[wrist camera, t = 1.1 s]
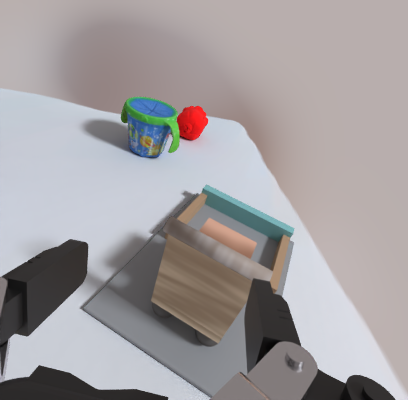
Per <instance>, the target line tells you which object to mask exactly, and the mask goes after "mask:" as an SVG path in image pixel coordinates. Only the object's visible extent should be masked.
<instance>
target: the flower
mask: <svg viewBox="0 0 408 400" xmlns="http://www.w3.org/2000/svg"><path fill="white" fill-rule="evenodd" d="M176 122H177V123H178V127H179V135H180V136H182V137H184V138H187V139H190V140H195V139H197V138H198V137H199V136H200V134H201V133H202V131H203V129H204V128H205V126H206V125H207V124H208V119H207V118H206V113H205V112H204V111H203V109H202V108H201V107H199V106H196V107H193V106H190V107H187V108H184V109H183V112H182V113H181V114H179V115H178V117H177V121H176Z"/></svg>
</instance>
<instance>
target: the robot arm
mask: <svg viewBox="0 0 408 400" xmlns="http://www.w3.org/2000/svg"><path fill="white" fill-rule="evenodd" d="M87 261H88V244H87V243H86V242H82V241H77V240H72V239H70V240H68V241H66V242H65V243H63V244H62V245H60V246H58V247H55V248H51V249H48V250H45V251H43V252H42V253H40V254H38V255H37V256H35V258H34V257H33V258H32V259H30V260H28V261H27V262H25V263H23V264H22V265H20V266H18V267H17V268H15V269H13V270H12V271H10V272H8V273H7V274H5V275H3V276H2V277H0V400H168V397H165V396H161V395H157V394H153V393H149V392H145V391H141V390H137V389H123V390H98V389H95V388H94V387H92V386H90V385H89V384H87V383H85V382H84V381H82V380H81V379H79V378H77V377H76V376H74V375H72V374H71V373H68V372H64V371H60V370H56V369H52V368H48V367H44V366H40V365H39V366H38V367H37V368H36V370H35V371H34V372H33V373H32V374H31V375H30V377H23V378H16V379H11V380H7V381H4V379H5V373H6V366H7V359H8V353H9V346H10V337H11V336H12V335H14V334H19V335H23V336H29V335H30V334H31V333H32V332H33V331H34V330H35V329H36V328H37V327H38V326H39V325H40V324H41V323H42V322H43V321H44V320H45V319H46V318H47V317H48V316H50V315H51V314H52V313H53V312H54V311H55V310H56V309H57V308H58V307H59V306H60V305H61V304H62V303H63V302H64V301H65V300H66V299H67V298H68V297H69V296H70V295H71V294H72V293H73V292H74V291H75V290H76V289H77V288H78V287H79V286H80V285H81V284H82V283H83V281H84V280H85V277H86V274H87ZM244 326H245V343H246V359H247V375H246V376H245V375H244V374H243V373H242V372H238V373H237V374H235V375H234V376H233V377H232V378H231V379H230V380H229V381H228V382H227V383H226V384H225V385H224V386H223V387H222V388H221V389H220V390H219V391H218V392H217V393H216V394H215V395H214V396H213V397H212V398H211V399H210V400H395V399H394V397H393V396H392V395H391V394H390V393H389V392H388V391H387V390H386V389H385V388H384V387H382V386H381V385H380V384H378V383H377V382H375V381H373V380H372V379H369V378H367V377H364V376H360V375H352V376H350V377H349V378H348V379H347V382H346V384H345V383H343V382H341V381H339V380H337V379H335V378H333V377H331V376H329V375H327V374H325V373H323V372H322V371H320V370H319V369H318V368H317V364H316V361H315V360H314V358H313V357H312V355H311V354H310V353H309V352H308V351H307V350H305V349H304V348H303V347H301V343H300V340H299V337H298V334H297V331H296V328H295V325H294V322H293V319H292V316H291V314H290V310H289V307H288V304H287V302H286V301H285V300H284V299H283V298H282V296H281V295H278V294H273V291H272V287H271V283H270V281H266V280H261V279H256V278H253V280H252V283H251V288H250V292H249V296H248V300H247V304H246V308H245V315H244Z"/></svg>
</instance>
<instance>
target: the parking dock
mask: <svg viewBox="0 0 408 400" xmlns="http://www.w3.org/2000/svg"><path fill="white" fill-rule="evenodd" d="M174 218H176V219H178V220H179V221H181V222H183V223H185V224H187V225H189V226H191V227H192V228H194V229H196V230H198V231H199V230H200V229H201V228H202V226H203V225H204V224H205V222H206V221H207V220H208V219H209V218H211V219H213V220H215V221H217V222H219V223H220V224H222V225H224V226H226V227H228V228H230V229H232V230H234V231H236V232H238V233H239V234H241V235H243V236H245V237H247V238H249V239H251V240H253V241H255V242H256V243H257V245H256V247H255V250H254V252H253V254H252V257H251V260H253V261H255V262H257V263H258V264H260V265H262V266H264V267H266V268H268V269H269V270H271V271H273V274H272V277H271V279H270V283H271V287H272V291H273V294H278V295H281V296H282V294H283V290H284V285H285V281H286V276H287V272H288V267H289V263H290V258H291V254H292V249H293V245H294V242H292V241H290V237H291V236H292V234H293V232H294V228H292V227H290V226H288V225H286V224H284V223H282V222H280V221H278V220H276V219H274V218H272V217H270V216H268V215H266V214H264V213H262V212H260V211H258V210H256V209H254V208H252V207H250V206H248V205H246V204H244V203H242V202H240V201H238V200H236V199H234V198H232V197H230V196H228V195H226V194H224V193H222V192H220V191H218V190H216V189H214V188H212V187H210V186H208V185H206V186H205V187H204V188H203V190H202V193H201V194H198V193H197V194H196V195H195V196H194V197H193V198H192V199H191V200H190V201H189V202H188V203H187V204H186V205H185V206H184V207H183V208H182V209H181V210H180V211H179V212H178V213H177V214H176V215H175V216H174ZM163 228H164V227H163ZM163 228H162V229H161V230H160V231H159V232H158V233H157V234H156V235H155V236H154V237H153V238H152V239H151V240H150V241H149V242H148V243H147V244H146V245H145V246H144V247H143V248H142V249H141V250H140V251H139V252H138V253H137V254H136V255H135V256H134V257H133V258H132V259H131V260H130V262H129V263H128V264H127V265H126V266H125V267H124V268H123V269H122V270H121V271H120V272H119V273H118V274H117V275H116V276H115V277H114V278H113V279H112V280H111V281H110V282H109V283H108V284H107V285H106V286H105V287H104V288H103V289H102V290H101V291H100V292H99V293H98V294H97V295H96V296H95V297H94V298H93V299H92V300H91V301H90V302H89V303H88V304H87V305H86V306H85V307H84V311H86V312H87V313H88V314H90V315H91V316H93V317H94V318H96V319H97V320H99V321H100V322H102V323H103V324H105V325H106V326H107V327H109V328H110V329H112V330H113V331H115V332H116V333H118V334H119V335H121V336H122V337H124V338H125V339H126V340H128V341H129V342H131V343H132V344H134V345H135V346H137V347H138V348H140V349H141V350H143V351H144V352H145V353H147V354H148V355H150V356H151V357H153V358H154V359H156V360H157V361H159V362H160V363H162V364H163V365H164V366H166V367H167V368H169V369H170V370H172V371H173V372H175V373H176V374H178V375H179V376H181V377H182V378H183V379H185V380H186V381H188V382H189V383H191V384H192V385H194V386H195V387H197V388H198V389H200V390H201V391H202V392H204V393H205V394H207V395H208V396H210V397H211V398H212V397H213V396H214V395H215V394H216V393H217V392H218V391H219V390H220V389H221V388H222V387H223V386H224V385H225V384H226V383H227V382H228V381H229V380H230V379H231V378H232V377H233V376H234V375H235V374H237V373H238V372H242V373H243V374H244V375H245V376H246V375H247V359H246V343H245V326H244V315H245V308H246V304H247V302H246V304H245V305H244V307H243V308H242V310H241V311H240V313H239V314H238V316H237V317H236V318H235V320H234V321H233V323H232V324H231V326H230V327H229V329H228V330H227V332H226V333H225V334H224V336H223V337H222V339H221V341H220V342H219V343H218V344H217V345H215V346H212V347H207V346H204V345H202V344H201V343H200V342H199V341H198V339H197V337H196V332H195V331H196V329H194V328H193V327H191V326H190V325H188V324H187V323H185V322H183V321H182V320H180V319H179V318H177V317H175V316H174V315H173V316H171V317H168V318H161V317H159V316H157V315H156V314H155V313H154V311H153V308H152V301H151V299H152V295H153V291H154V287H155V283H156V280H157V276H158V272H159V268H160V264H161V261H162V257H163V253H164V249H165V245H166V242H167V238H168V234H167V233H166V232H164V231H163Z"/></svg>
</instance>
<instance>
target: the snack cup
mask: <svg viewBox="0 0 408 400" xmlns="http://www.w3.org/2000/svg"><path fill="white" fill-rule="evenodd" d="M177 115H178V114H177V111H176V109H175V108H173V107H172V106H170V105H169V104H167V103H165V102H162V101H159V100H155V99H151V98H146V97H133V98H129V99H128V100H127V101H126V102H125V104H124V107H123V110H122V114H121V121H122V122H123V123H128V138H129V148H130V149H131V150H132V151H133V152H135V153H136V154H139V155H140V156H142V157H144V156H146V157H158V156H159V155H160V154H161V153H162V152H163V150H164V147H165V145H166V142H167V140H168V137H169V134H170V132H171V133H172V137H173V141H172V144H171V146H170V149H169V151H168V152H169V153H172V152H174V151H176V150H177V148H178V146H179V138H180V136H179V127H178V123H177V122H176V119H177Z"/></svg>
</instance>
